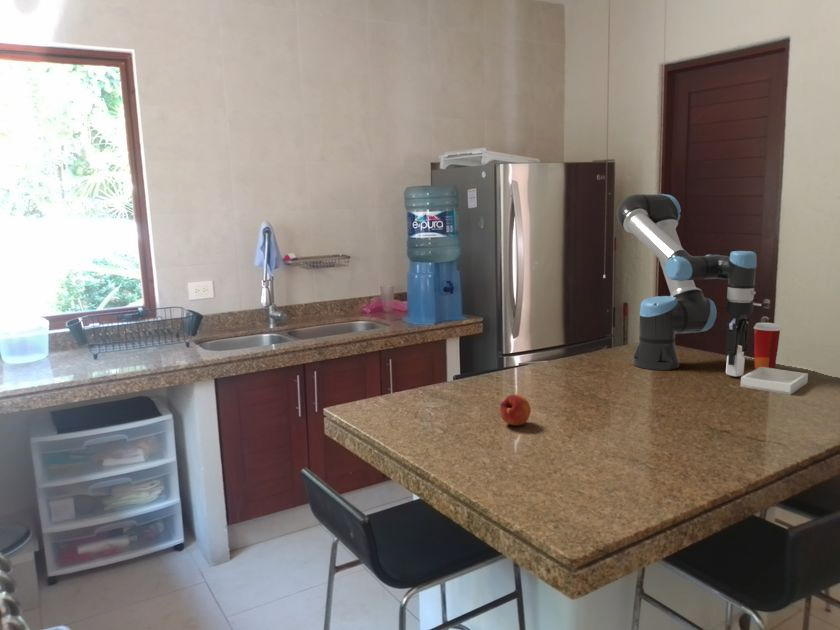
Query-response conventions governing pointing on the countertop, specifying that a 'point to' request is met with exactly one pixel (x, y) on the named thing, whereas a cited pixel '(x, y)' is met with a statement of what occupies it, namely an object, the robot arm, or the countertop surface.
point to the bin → (774, 380)
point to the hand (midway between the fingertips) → (734, 372)
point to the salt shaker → (738, 362)
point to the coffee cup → (766, 344)
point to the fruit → (515, 410)
